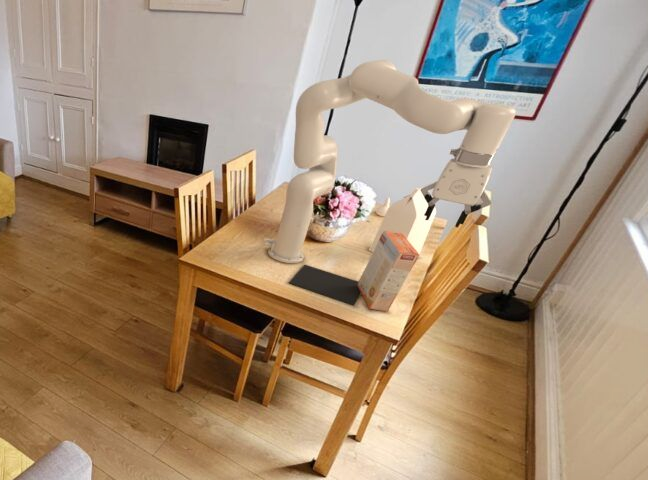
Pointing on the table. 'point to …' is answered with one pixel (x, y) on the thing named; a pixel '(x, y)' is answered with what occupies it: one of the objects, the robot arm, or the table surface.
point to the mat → (327, 284)
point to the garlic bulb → (383, 208)
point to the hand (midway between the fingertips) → (442, 221)
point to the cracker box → (387, 270)
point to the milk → (407, 220)
